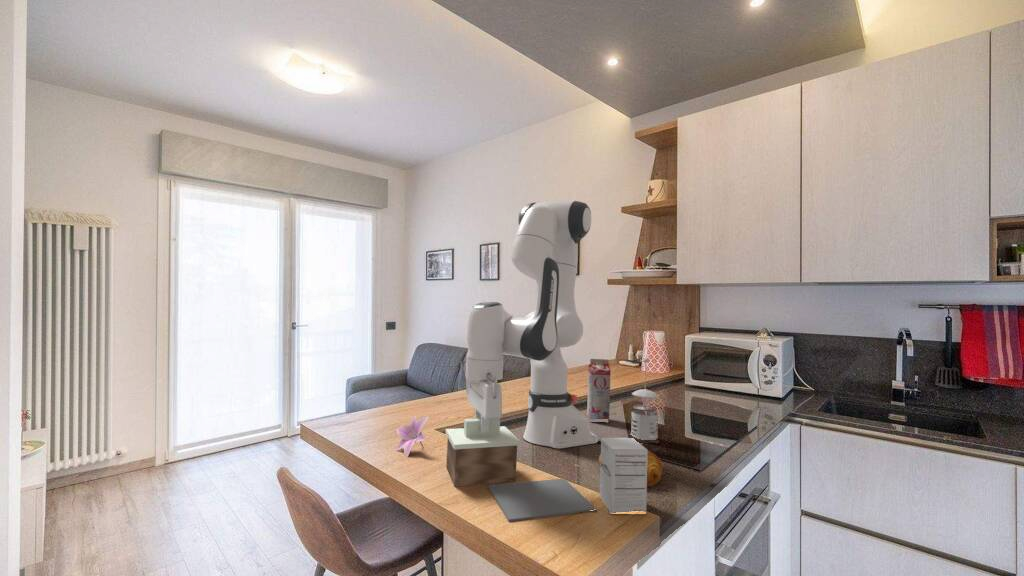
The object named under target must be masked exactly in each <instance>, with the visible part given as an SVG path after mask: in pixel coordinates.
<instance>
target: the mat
mask: <svg viewBox="0 0 1024 576" xmlns="http://www.w3.org/2000/svg"><path fill="white" fill-rule="evenodd" d="M487 488H488V489H489V491H490V493H491V494H492V496H493V498H494V499H495V501H496V503H497V504H498V507H500V510H501V511H502V513H503V514H504V516H505V518H506V519H507V521H508V522H515V521H524V520H525V521H526V520H531V519H533V520H534V519H541V518H542V519H543V518H549V517H556V516H557V517H558V516H564V515H565V516H566V514H567V515H572V514H574V513H575V514H580V513H579V512H583V513H585V512H584V511H590V510H594V509H597V507H596V506H595V505H593V504H592V502H590V501H589V500H588V499H587V498H586V497H585V496H584V495H583V494H581V492H580V491H578V490H577V489H576V488H575V487H574V486H573V485H572V484H571V483H570V482H569V481H567V479H565V478H563V477H562V478H555V479H543V480H542V479H541V480H533V481H521V482H511V483H509V482H508V483H501V484H500V483H499V484H489V485H487ZM597 510H598V509H597Z"/></svg>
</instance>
